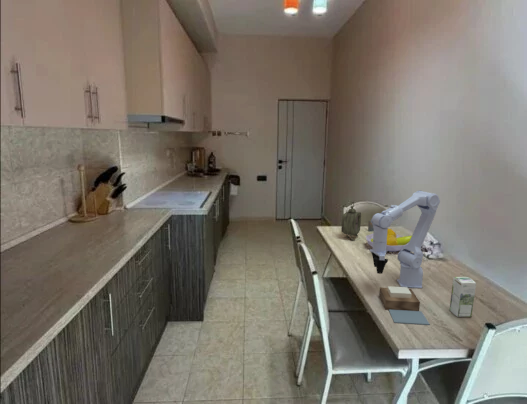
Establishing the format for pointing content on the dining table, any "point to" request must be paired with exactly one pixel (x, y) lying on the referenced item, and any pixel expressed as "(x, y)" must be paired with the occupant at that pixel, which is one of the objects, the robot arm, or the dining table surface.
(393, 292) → the tile
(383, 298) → the block
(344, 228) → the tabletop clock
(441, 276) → the dining table surface
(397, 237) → the fruit bowl
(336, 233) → the dining table surface
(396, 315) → the mat
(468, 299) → the syrup box
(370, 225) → the architectural model on board
